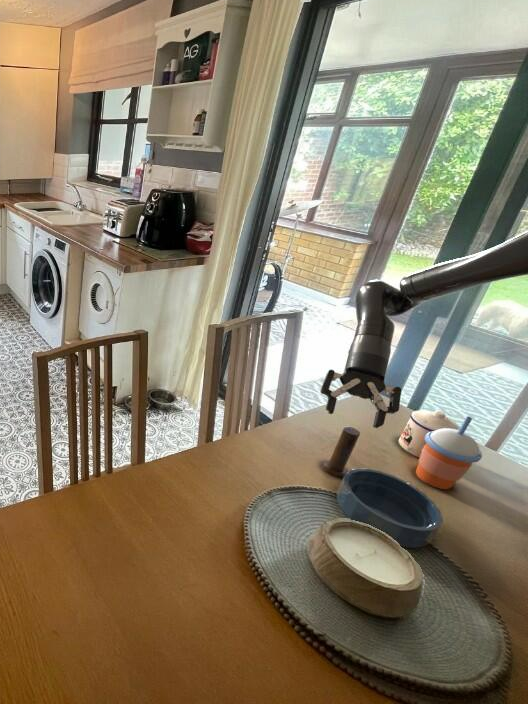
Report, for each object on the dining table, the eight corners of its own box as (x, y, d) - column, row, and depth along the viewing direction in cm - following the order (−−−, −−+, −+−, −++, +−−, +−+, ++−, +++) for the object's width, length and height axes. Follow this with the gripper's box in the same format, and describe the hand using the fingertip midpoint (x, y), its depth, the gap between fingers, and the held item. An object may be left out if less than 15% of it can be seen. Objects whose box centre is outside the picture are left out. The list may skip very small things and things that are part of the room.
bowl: (423, 508, 89) (434, 489, 86) (437, 564, 77) (450, 545, 75) (335, 476, 97) (343, 458, 94) (335, 523, 85) (345, 504, 83)
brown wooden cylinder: (345, 468, 99) (363, 429, 94) (345, 479, 96) (364, 440, 91) (323, 460, 101) (340, 422, 96) (323, 471, 98) (340, 432, 93)
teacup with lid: (397, 432, 111) (415, 397, 106) (443, 448, 105) (464, 411, 100) (396, 456, 102) (416, 419, 97) (446, 475, 97) (470, 437, 92)
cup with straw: (409, 459, 102) (441, 399, 94) (460, 479, 96) (499, 418, 88) (405, 478, 96) (439, 417, 88) (459, 501, 90) (501, 438, 82)
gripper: (335, 343, 100) (319, 405, 96) (413, 361, 92) (398, 429, 89) (328, 353, 106) (313, 412, 102) (400, 371, 98) (386, 434, 95)
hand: (352, 420), depth 95 cm, fingers open, 8 cm apart
